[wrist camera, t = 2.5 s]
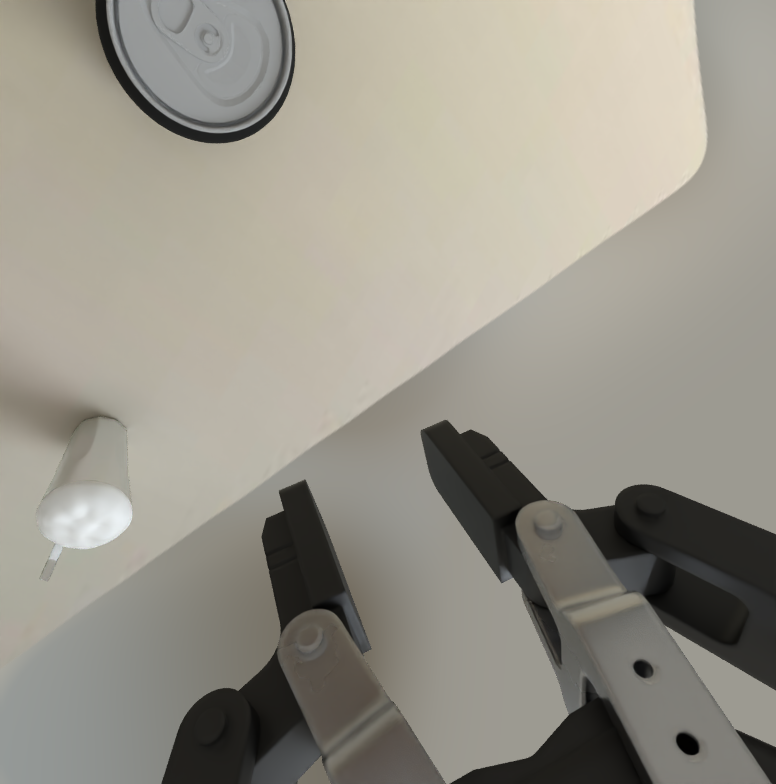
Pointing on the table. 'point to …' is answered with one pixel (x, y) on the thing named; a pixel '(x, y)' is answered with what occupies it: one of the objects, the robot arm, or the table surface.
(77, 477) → the milkshake
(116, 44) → the beverage can
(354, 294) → the table surface
